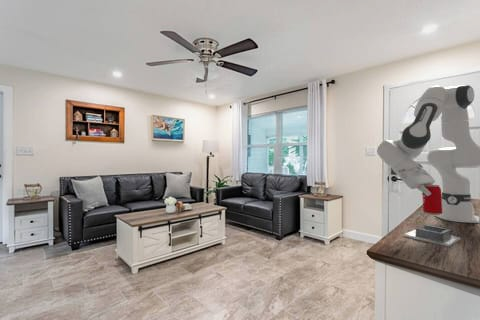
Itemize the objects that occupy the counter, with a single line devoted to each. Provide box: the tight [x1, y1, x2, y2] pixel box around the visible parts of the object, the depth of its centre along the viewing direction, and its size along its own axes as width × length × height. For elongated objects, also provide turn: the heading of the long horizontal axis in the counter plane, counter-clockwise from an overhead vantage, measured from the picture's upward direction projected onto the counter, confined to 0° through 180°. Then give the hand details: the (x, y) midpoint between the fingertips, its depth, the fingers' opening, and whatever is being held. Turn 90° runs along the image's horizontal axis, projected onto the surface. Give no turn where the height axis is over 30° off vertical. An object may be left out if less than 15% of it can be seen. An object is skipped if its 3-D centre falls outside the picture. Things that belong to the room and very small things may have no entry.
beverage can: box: [421, 184, 442, 216], centre depth 102 cm, size 6×6×12 cm
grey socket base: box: [403, 224, 461, 248], centre depth 102 cm, size 14×15×4 cm
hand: (433, 194), depth 102 cm, fingers closed on beverage can, 6 cm apart
